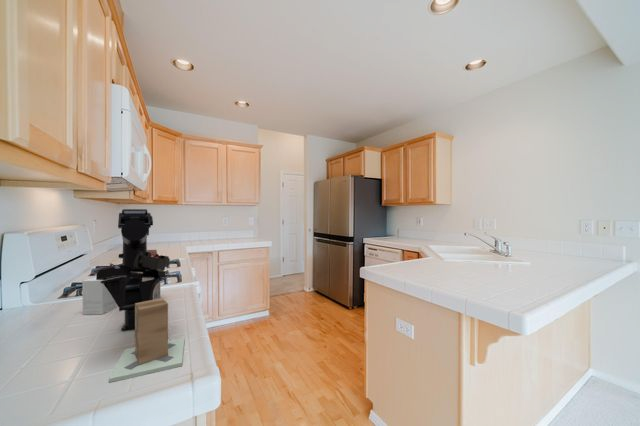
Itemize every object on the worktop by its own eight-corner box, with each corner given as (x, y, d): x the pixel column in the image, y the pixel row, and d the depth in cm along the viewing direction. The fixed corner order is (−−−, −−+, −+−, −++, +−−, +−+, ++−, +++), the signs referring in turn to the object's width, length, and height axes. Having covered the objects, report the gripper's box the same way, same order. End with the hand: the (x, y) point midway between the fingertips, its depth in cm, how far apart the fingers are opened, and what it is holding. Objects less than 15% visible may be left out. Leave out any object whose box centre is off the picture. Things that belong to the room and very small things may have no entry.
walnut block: (135, 354, 65) (135, 303, 66) (162, 346, 70) (162, 298, 70) (139, 364, 61) (139, 309, 61) (168, 355, 65) (167, 303, 65)
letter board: (124, 352, 69) (124, 348, 69) (184, 340, 75) (184, 337, 75) (108, 382, 56) (108, 378, 56) (182, 366, 62) (182, 362, 62)
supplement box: (117, 307, 103) (117, 275, 103) (102, 314, 95) (102, 280, 95) (98, 307, 102) (98, 275, 102) (81, 315, 95) (81, 280, 95)
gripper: (137, 238, 66) (137, 301, 62) (180, 248, 84) (182, 298, 80) (95, 247, 67) (92, 311, 62) (147, 255, 84) (147, 305, 80)
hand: (134, 305), depth 71 cm, fingers open, 9 cm apart
